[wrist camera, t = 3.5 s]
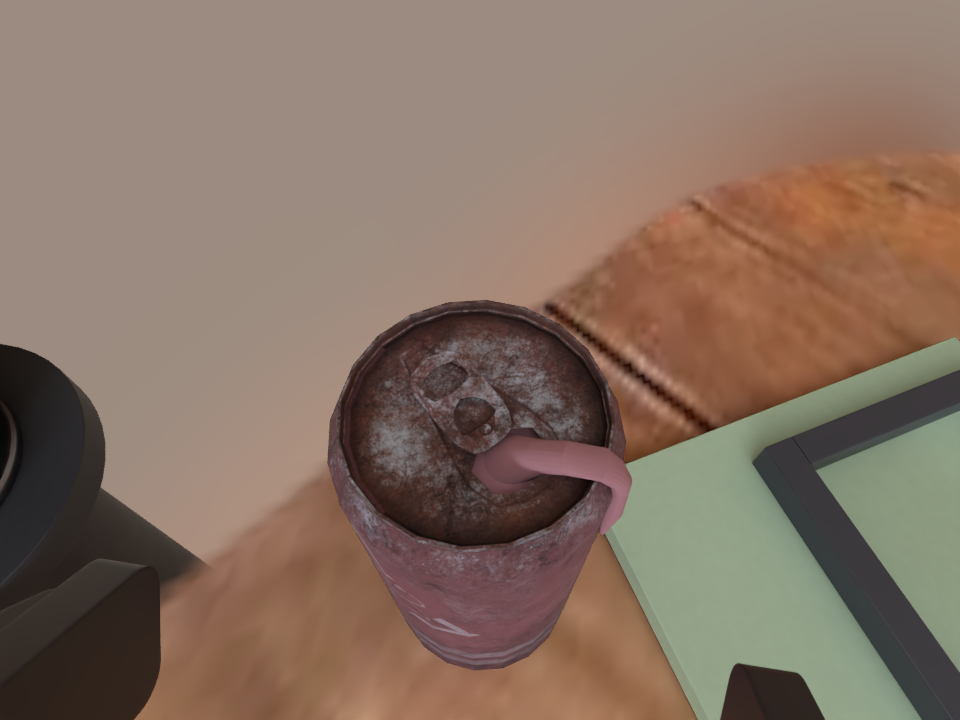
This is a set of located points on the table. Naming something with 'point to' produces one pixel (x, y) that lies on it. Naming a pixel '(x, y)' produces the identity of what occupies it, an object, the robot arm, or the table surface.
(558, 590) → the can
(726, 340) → the table surface
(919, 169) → the table surface
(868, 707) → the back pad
